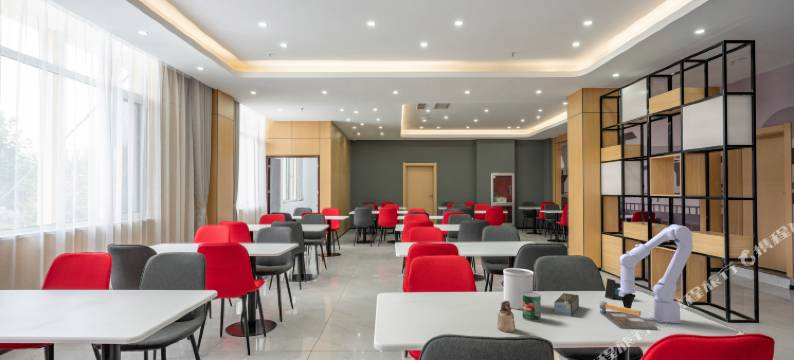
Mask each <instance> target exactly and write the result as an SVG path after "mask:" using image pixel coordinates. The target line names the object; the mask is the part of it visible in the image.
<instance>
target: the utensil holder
mask: <svg viewBox="0 0 794 360" xmlns="http://www.w3.org/2000/svg"><path fill="white" fill-rule="evenodd" d="M502 273H503V301H509V302H510V307H511V309H514V310H523V293H524V292H533V289H534V275H535V273H534V271H532V270H530V269H527V268H526V269H524V268H517V267H513V268H512V267H509V268H508V267H507V268H504V269H503V272H502ZM533 293H534V292H533Z"/></svg>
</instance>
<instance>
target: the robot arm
mask: <svg viewBox="0 0 794 360" xmlns="http://www.w3.org/2000/svg"><path fill="white" fill-rule="evenodd" d="M693 235H694V234H693V233H692V231H691V229H690V228H688V227H687V226H685V225H680V224H675V223H673V224H670V225H668V227H665V228H663V229H662V230H661V231H659V233H658V234H656V235H655V236H654V237H652V238H651V239H649V240H648V241H647V242H646V243H640V244H638V243H637V244H635V245H634V246H635V247H633V248H632V249H631V250H629V251H626V253H624V254H623V253H622V254H621V255H620V257H619V259H618V262H619V264H620V284H621V288H618V290H620V291H619V296H620V297H621V299H620V300H621V302H622V305H623V307H625V308H629V309H632V306H633V302H634V300H635V298H636V294H635V293H636V292H637V287H635V284H636V283H635V281H636V280H635V275H636V273H635V267H637V263H639V262H640V261H642V260H643V259H644V258H646V257H647V256H649V255H650V254H651V250H653V249H654V248H656V247H658V246H659V245H661V244H662V243H664V242H665V241H673V242H674V243H675V244H676V246H677V248H676V250H675V252H674V254H673V256H672V258H671V260H670V262H669V264H668V266H667V267H666V269H665V272H664V275H663V276H662V278H660V279H658V282H657V283H655V284H654V286H652V288H651V289H652V294H653V295H654V298H653V311H654V312H653V315H649V318H652V319H653V320H655V321H656V322H658V323H666V324H667V323H669V324H681V323H682V322H681V308H680V307H681V306H680V303H678V301H676V300H675V298H676V290H677V282H678V280H679V277H680V276H681V273H682V271H683V270H684V268H685V266H686V264H687V262H688V259H689V257H690V256H691V253H692V251H693V250H694V243H693Z"/></svg>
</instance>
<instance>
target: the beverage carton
mask: <svg viewBox="0 0 794 360" xmlns="http://www.w3.org/2000/svg"><path fill="white" fill-rule="evenodd" d="M579 296H580V295H579V294H573V293H565V292H563V293H562V294H561V295H560V296H559V297H558V298H557V299H556V300H555V301H554V303H553V304H554V306H553V310H554V314H555V315H561V316H567V317H572V316H573V315H574V314H575V312H576V311H577V310H578V308H579V307H580V297H579Z"/></svg>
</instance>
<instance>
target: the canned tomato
mask: <svg viewBox="0 0 794 360" xmlns="http://www.w3.org/2000/svg"><path fill="white" fill-rule="evenodd" d="M541 296H542V294H541V293H537V292H524V293H523V309H522V319H523V320H525V321H528V322H540V321H541V318H542V317H541V316H542V315H541V311H542V309H541V307H542V306H541V305H542V304H541V303H542V302H541V300H542V297H541Z"/></svg>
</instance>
